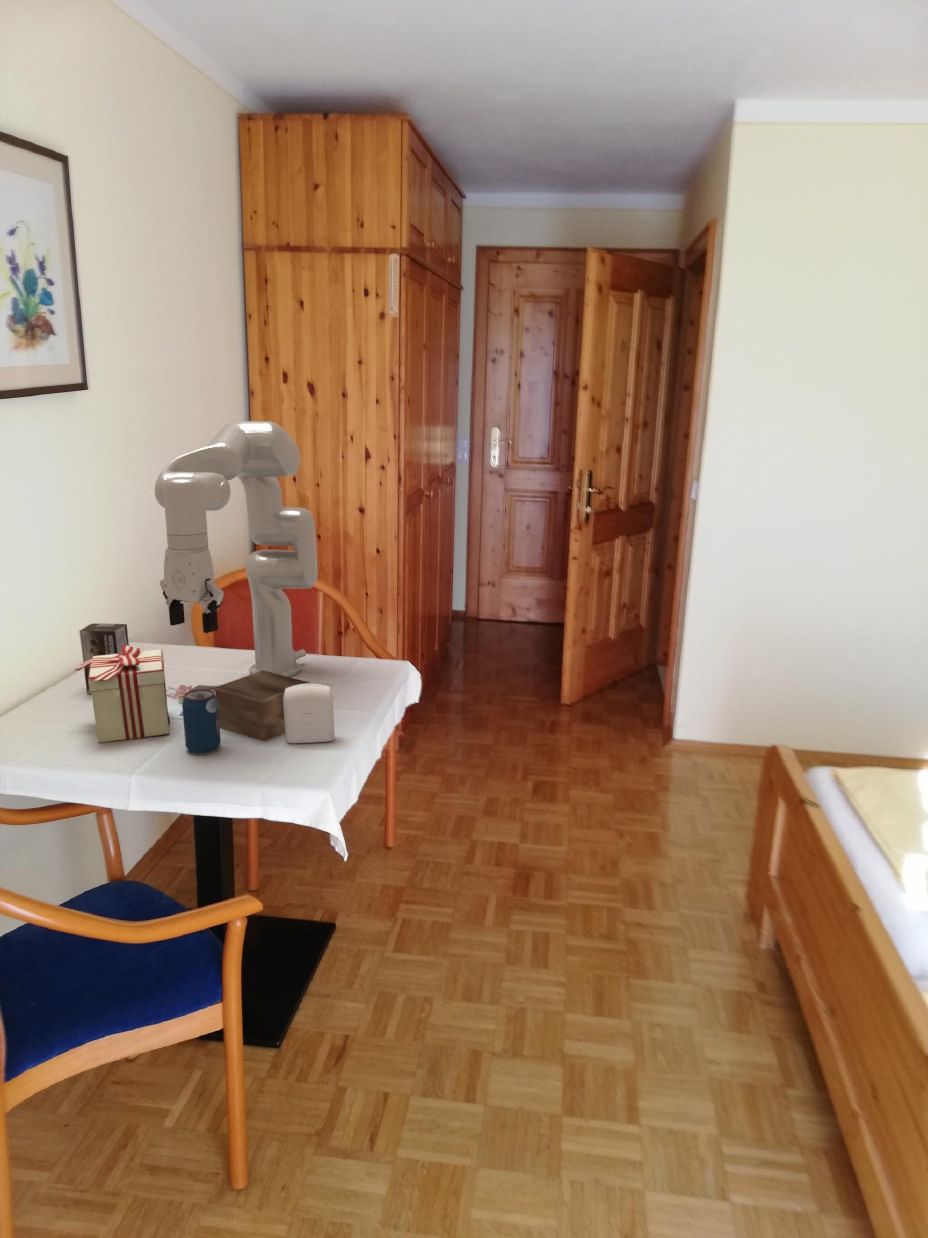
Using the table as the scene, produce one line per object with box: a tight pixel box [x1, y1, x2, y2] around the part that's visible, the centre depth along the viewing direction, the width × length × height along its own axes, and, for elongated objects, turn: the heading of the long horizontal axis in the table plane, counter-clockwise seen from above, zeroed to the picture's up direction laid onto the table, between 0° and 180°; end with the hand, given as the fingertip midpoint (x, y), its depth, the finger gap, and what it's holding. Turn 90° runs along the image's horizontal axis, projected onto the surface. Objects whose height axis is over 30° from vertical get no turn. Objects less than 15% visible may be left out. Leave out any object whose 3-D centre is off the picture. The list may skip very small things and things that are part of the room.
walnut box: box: [213, 670, 311, 742], centre depth 203 cm, size 14×14×9 cm
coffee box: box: [79, 623, 130, 696], centre depth 222 cm, size 9×6×16 cm
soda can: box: [181, 688, 222, 756], centre depth 189 cm, size 7×7×12 cm
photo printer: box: [283, 683, 336, 744], centre depth 193 cm, size 10×4×12 cm, turn 96°
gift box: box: [73, 645, 171, 744], centre depth 198 cm, size 17×18×17 cm
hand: (193, 627), depth 183 cm, fingers open, 9 cm apart
